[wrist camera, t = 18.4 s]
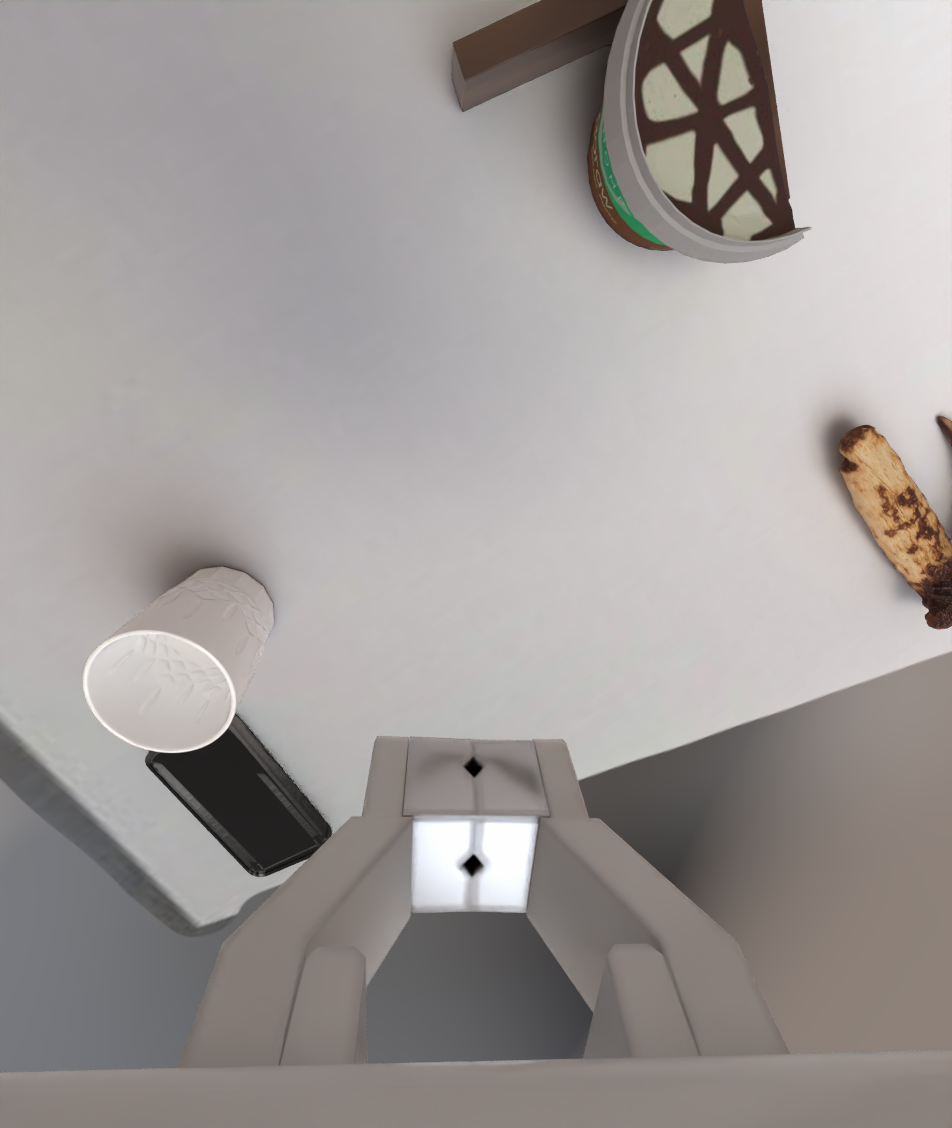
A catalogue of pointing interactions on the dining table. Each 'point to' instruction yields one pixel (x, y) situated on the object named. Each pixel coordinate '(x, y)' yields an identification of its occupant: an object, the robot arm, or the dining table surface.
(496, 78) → the corner guide
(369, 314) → the dining table surface
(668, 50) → the food container
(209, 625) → the white cup
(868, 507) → the lashed bone hook
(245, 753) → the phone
